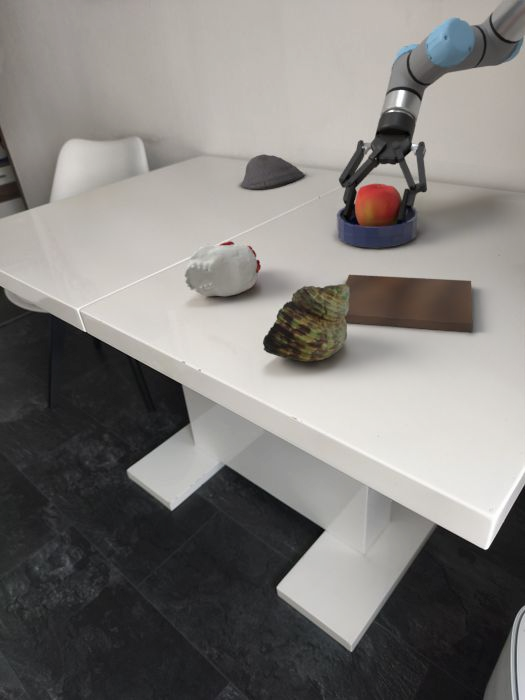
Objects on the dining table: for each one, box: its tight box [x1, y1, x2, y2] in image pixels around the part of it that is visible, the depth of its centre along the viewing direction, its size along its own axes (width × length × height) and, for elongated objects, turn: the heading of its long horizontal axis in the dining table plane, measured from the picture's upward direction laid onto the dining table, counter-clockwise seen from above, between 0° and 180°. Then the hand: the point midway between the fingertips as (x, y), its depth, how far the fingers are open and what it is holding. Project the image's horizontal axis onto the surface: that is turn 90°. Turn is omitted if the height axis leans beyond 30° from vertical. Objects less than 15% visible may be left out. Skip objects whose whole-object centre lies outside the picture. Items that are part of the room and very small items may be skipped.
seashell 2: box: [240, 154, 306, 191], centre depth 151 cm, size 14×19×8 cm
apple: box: [354, 183, 403, 227], centre depth 109 cm, size 10×10×10 cm
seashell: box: [262, 283, 350, 362], centre depth 74 cm, size 11×11×10 cm
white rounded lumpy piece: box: [184, 240, 262, 297], centre depth 94 cm, size 9×11×15 cm
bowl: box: [336, 203, 420, 249], centre depth 111 cm, size 16×16×4 cm
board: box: [345, 274, 474, 333], centre depth 86 cm, size 20×14×2 cm
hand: (372, 220), depth 108 cm, fingers open, 10 cm apart
